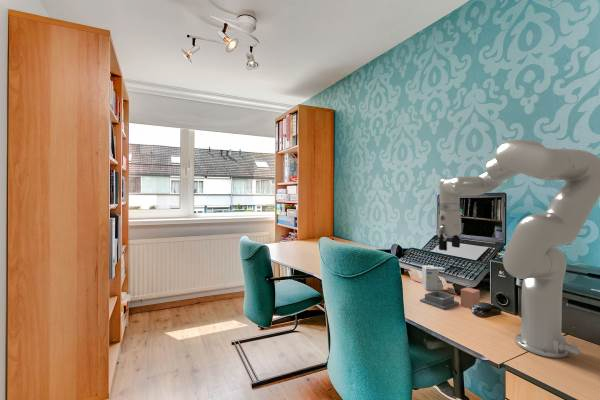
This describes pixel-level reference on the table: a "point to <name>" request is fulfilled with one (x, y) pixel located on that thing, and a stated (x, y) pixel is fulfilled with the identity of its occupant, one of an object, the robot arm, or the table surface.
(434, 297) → the grey flanged tray
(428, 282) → the light bulb box
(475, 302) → the reddish brown block
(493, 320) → the table surface
